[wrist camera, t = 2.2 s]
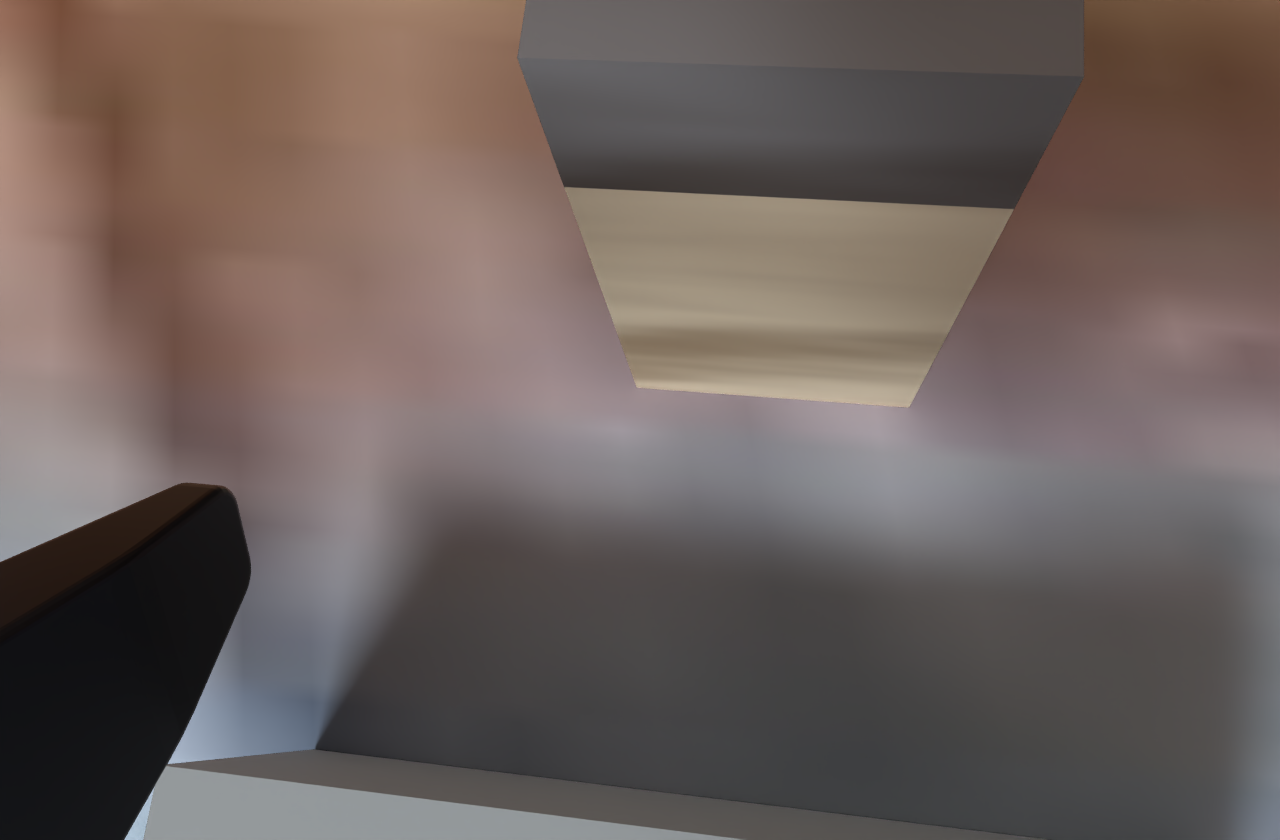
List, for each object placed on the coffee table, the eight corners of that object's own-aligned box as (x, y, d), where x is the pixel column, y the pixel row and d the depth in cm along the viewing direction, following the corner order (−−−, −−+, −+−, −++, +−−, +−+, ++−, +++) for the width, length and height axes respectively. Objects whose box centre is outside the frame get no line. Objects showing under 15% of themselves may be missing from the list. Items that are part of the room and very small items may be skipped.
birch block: (908, 407, 23) (1084, 76, 11) (637, 387, 24) (517, 57, 12) (919, 160, 24) (1084, -372, 12) (663, 148, 25) (582, -364, 13)
